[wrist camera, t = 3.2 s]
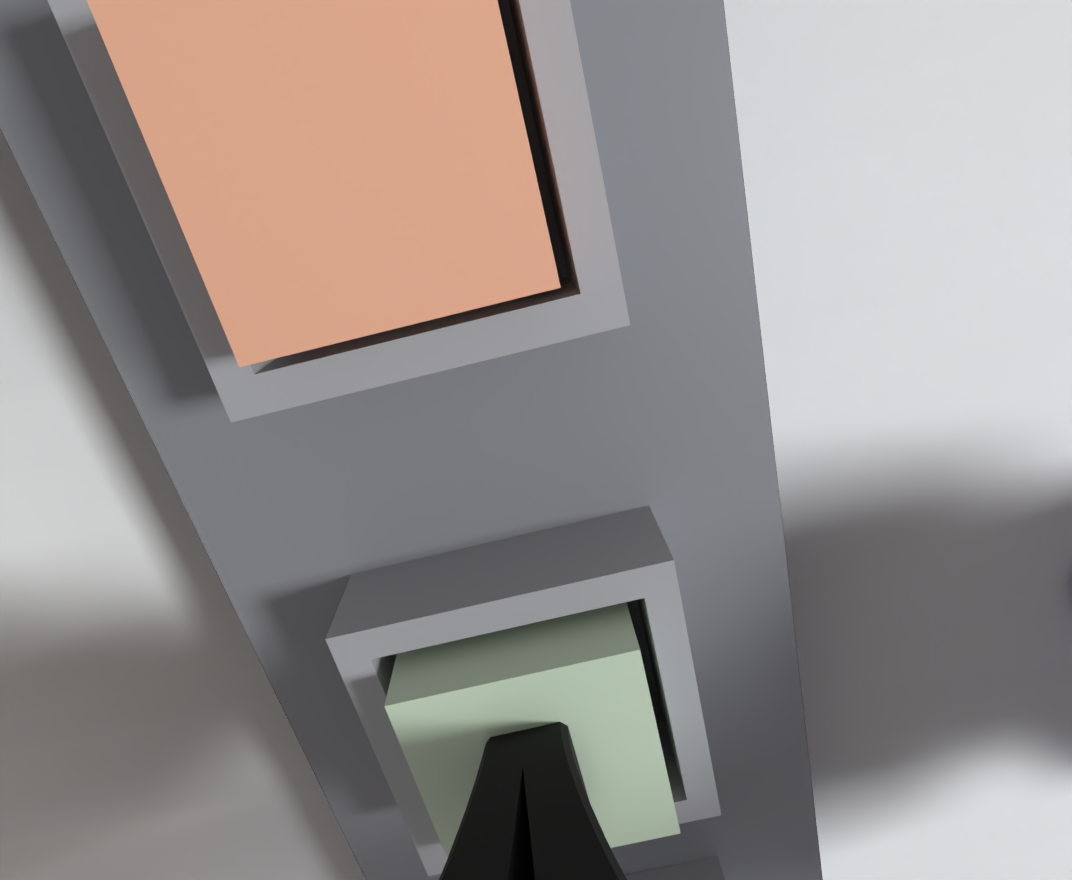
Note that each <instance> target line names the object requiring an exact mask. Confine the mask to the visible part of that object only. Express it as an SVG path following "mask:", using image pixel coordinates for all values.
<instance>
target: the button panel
mask: <svg viewBox="0 0 1072 880" xmlns="http://www.w3.org/2000/svg"><path fill="white" fill-rule="evenodd" d="M498 5H499V9H500V14H501V19H502V23H503V28H504V32H505V37H506V41H507V46H508V50H509V55H510V59H511V64H512V68H513V73H514V78H515V82H516V87H517V91H518V96H519V100H520V105H521V109H522V114H523V118H524V123H525V127H526V132H527V137H528V141H529V146H530V150H531V155H532V159H533V164H534V168H535V173H536V177H537V182H538V186H539V191H540V195H541V200H542V205H543V209H544V214H545V218H546V223H547V227H548V232H549V236H550V241H551V245H552V250H553V254H554V259H555V264H556V268H557V273H558V277H559V282H560V286H561V288H558V289H554V290H550V291H545V292H541V293H537V294H533V295H529V296H525V297H521V298H517V299H513V300H509V301H505V302H501V303H497V304H493V305H489V306H485V307H481V308H477V309H473V310H469V311H465V312H461V313H457V314H453V315H449V316H445V317H441V318H437V319H433V320H428V321H424V322H420V323H416V324H412V325H408V326H404V327H400V328H396V329H392V330H388V331H384V332H380V333H376V334H372V335H368V336H364V337H360V338H356V339H352V340H348V341H344V342H340V343H336V344H332V345H328V346H324V347H320V348H316V349H311V350H307V351H303V352H299V353H295V354H291V355H287V356H283V357H279V358H275V359H271V360H267V361H263V362H259V363H255V364H251V365H247V366H243V367H239V365H238V363H237V361H236V358H235V356H234V353H233V351H232V349H231V346H230V344H229V341H228V339H227V336H226V334H225V332H224V329H223V327H222V324H221V322H220V320H219V317H218V315H217V312H216V310H215V308H214V305H213V303H212V300H211V298H210V296H209V293H208V291H207V288H206V286H205V284H204V281H203V279H202V276H201V274H200V272H199V269H198V267H197V264H196V262H195V260H194V257H193V255H192V252H191V250H190V248H189V245H188V243H187V240H186V238H185V236H184V233H183V231H182V228H181V226H180V224H179V221H178V219H177V216H176V214H175V212H174V209H173V207H172V204H171V202H170V200H169V197H168V195H167V192H166V190H165V188H164V185H163V183H162V180H161V178H160V176H159V173H158V171H157V168H156V166H155V163H154V161H153V159H152V156H151V154H150V151H149V149H148V147H147V144H146V142H145V139H144V137H143V135H142V132H141V130H140V127H139V125H138V123H137V120H136V118H135V115H134V113H133V111H132V108H131V106H130V103H129V101H128V99H127V96H126V94H125V91H124V89H123V87H122V84H121V82H120V79H119V77H118V75H117V72H116V70H115V67H114V65H113V63H112V60H111V58H110V55H109V53H108V51H107V48H106V46H105V43H104V41H103V39H102V36H101V34H100V31H99V29H98V27H97V24H96V22H95V19H94V17H93V15H92V12H91V10H90V7H89V5H88V3H87V0H0V129H1V131H2V133H3V135H4V137H5V139H6V141H7V143H8V145H9V147H10V149H11V151H12V153H13V155H14V158H15V160H16V162H17V164H18V166H19V168H20V170H21V172H22V174H23V176H24V178H25V180H26V182H27V184H28V186H29V188H30V190H31V192H32V194H33V197H34V199H35V201H36V203H37V205H38V207H39V209H40V211H41V213H42V215H43V217H44V219H45V221H46V223H47V225H48V227H49V229H50V231H51V234H52V236H53V238H54V240H55V242H56V244H57V246H58V248H59V250H60V252H61V254H62V256H63V258H64V260H65V262H66V264H67V266H68V268H69V270H70V273H71V275H72V277H73V279H74V281H75V283H76V285H77V287H78V289H79V291H80V293H81V295H82V297H83V299H84V301H85V303H86V305H87V307H88V309H89V312H90V314H91V316H92V318H93V320H94V322H95V324H96V326H97V328H98V330H99V332H100V334H101V336H102V338H103V340H104V342H105V344H106V346H107V348H108V351H109V353H110V355H111V357H112V359H113V361H114V363H115V365H116V367H117V369H118V371H119V373H120V375H121V377H122V379H123V381H124V383H125V385H126V388H127V390H128V392H129V394H130V396H131V398H132V400H133V402H134V404H135V406H136V408H137V410H138V412H139V414H140V416H141V418H142V420H143V422H144V424H145V427H146V429H147V431H148V433H149V435H150V437H151V439H152V441H153V443H154V445H155V447H156V449H157V451H158V453H159V455H160V457H161V459H162V461H163V463H164V466H165V468H166V470H167V472H168V474H169V476H170V478H171V480H172V482H173V484H174V486H175V488H176V490H177V492H178V494H179V496H180V498H181V500H182V503H183V505H184V507H185V509H186V511H187V513H188V515H189V517H190V519H191V521H192V523H193V525H194V527H195V529H196V531H197V533H198V535H199V537H200V539H201V542H202V544H203V546H204V548H205V550H206V552H207V554H208V556H209V558H210V560H211V562H212V564H213V566H214V568H215V570H216V572H217V574H218V576H219V578H220V581H221V583H222V585H223V587H224V589H225V591H226V593H227V595H228V597H229V599H230V601H231V603H232V605H233V607H234V609H235V611H236V613H237V615H238V617H239V620H240V622H241V624H242V626H243V628H244V630H245V632H246V634H247V636H248V638H249V640H250V642H251V644H252V646H253V648H254V650H255V652H256V654H257V657H258V659H259V661H260V663H261V665H262V667H263V669H264V671H265V673H266V675H267V677H268V679H269V681H270V683H271V685H272V687H273V689H274V691H275V693H276V696H277V698H278V700H279V702H280V704H281V706H282V708H283V710H284V712H285V714H286V716H287V718H288V720H289V722H290V724H291V726H292V728H293V730H294V732H295V735H296V737H297V739H298V741H299V743H300V745H301V747H302V749H303V751H304V753H305V755H306V757H307V759H308V761H309V763H310V765H311V767H312V769H313V771H314V774H315V776H316V778H317V780H318V782H319V784H320V786H321V788H322V790H323V792H324V794H325V796H326V798H327V800H328V802H329V804H330V806H331V808H332V811H333V813H334V815H335V817H336V819H337V821H338V823H339V825H340V827H341V829H342V831H343V833H344V835H345V837H346V839H347V841H348V843H349V845H350V847H351V850H352V852H353V854H354V856H355V858H356V860H357V862H358V864H359V866H360V868H361V870H362V872H363V874H364V876H365V878H366V880H439V878H440V876H441V873H442V871H443V869H444V866H445V864H446V861H447V857H446V854H445V852H444V850H443V847H442V845H441V842H440V840H439V837H438V835H437V833H436V830H435V828H434V825H433V823H432V821H431V818H430V816H429V813H428V811H427V808H426V806H425V804H424V801H423V799H422V796H421V794H420V791H419V789H418V787H417V784H416V782H415V779H414V777H413V775H412V772H411V770H410V767H409V765H408V762H407V760H406V758H405V755H404V753H403V750H402V748H401V746H400V743H399V741H398V738H397V736H396V733H395V731H394V729H393V726H392V724H391V721H390V719H389V717H388V714H387V712H386V709H385V707H384V705H385V701H386V697H387V693H388V689H389V684H390V680H391V676H392V672H393V667H394V663H395V659H396V655H397V654H398V653H402V652H406V651H411V650H415V649H420V648H424V647H429V646H433V645H438V644H442V643H446V642H451V641H455V640H460V639H464V638H469V637H473V636H478V635H482V634H486V633H491V632H495V631H500V630H504V629H509V628H513V627H518V626H522V625H526V624H531V623H535V622H540V621H544V620H549V619H553V618H558V617H562V616H566V615H571V614H575V613H580V612H584V611H589V610H593V609H598V608H602V607H606V606H611V605H615V604H620V603H624V602H626V603H627V606H628V610H629V613H630V617H631V620H632V624H633V627H634V630H635V634H636V637H637V641H638V644H639V648H640V652H641V656H642V661H643V665H644V670H645V674H646V679H647V683H648V688H649V692H650V697H651V701H652V706H653V710H654V715H655V719H656V724H657V729H658V733H659V738H660V742H661V747H662V751H663V756H664V760H665V765H666V769H667V774H668V778H669V783H670V787H671V792H672V796H673V801H674V806H675V810H676V815H677V819H678V824H679V828H680V834H675V835H671V836H666V837H661V838H656V839H651V840H647V841H642V842H637V843H632V844H627V845H622V846H618V847H613V848H611V850H612V852H613V854H614V856H615V858H616V860H617V862H618V864H619V865H620V867H621V869H622V871H623V873H624V875H625V877H626V879H627V880H823V879H822V870H821V861H820V853H819V844H818V835H817V826H816V817H815V808H814V799H813V790H812V782H811V773H810V764H809V755H808V746H807V737H806V728H805V720H804V711H803V702H802V693H801V684H800V675H799V666H798V657H797V649H796V640H795V631H794V622H793V613H792V604H791V595H790V587H789V578H788V569H787V560H786V551H785V542H784V533H783V524H782V516H781V507H780V498H779V489H778V480H777V471H776V462H775V454H774V445H773V436H772V427H771V418H770V409H769V400H768V392H767V383H766V374H765V365H764V356H763V347H762V338H761V329H760V321H759V312H758V303H757V294H756V285H755V276H754V267H753V259H752V250H751V241H750V232H749V223H748V214H747V205H746V196H745V188H744V179H743V170H742V161H741V152H740V143H739V134H738V126H737V117H736V108H735V99H734V90H733V81H732V72H731V63H730V55H729V46H728V37H727V28H726V19H725V10H724V1H723V0H498Z"/></svg>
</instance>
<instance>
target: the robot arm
mask: <svg viewBox="0 0 1072 880" xmlns="http://www.w3.org/2000/svg"><path fill="white" fill-rule="evenodd" d="M439 880H627V879H626V877H625V875H624V873H623V871H622V869H621V867H620V865H619V864H618V862H617V860H616V858H615V856H614V854H613V852H612V850H611V848H610V846H609V844H608V842H607V840H606V838H605V835H604V833H603V831H602V829H601V826H600V824H599V822H598V820H597V818H596V815H595V813H594V811H593V809H592V806H591V804H590V802H589V798H588V795H587V791H586V788H585V784H584V781H583V777H582V774H581V770H580V767H579V763H578V760H577V756H576V753H575V749H574V746H573V742H572V739H571V735H570V732H569V728H568V726H567V725H565V724H563V723H561V722H557V723H552V724H548V725H543V726H539V727H534V728H530V729H525V730H520V731H516V732H511V733H507V734H502V735H498V736H493V737H490V738H489V740H488V741H487V742H486V744H485V748H484V752H483V756H482V759H481V763H480V766H479V770H478V773H477V776H476V780H475V783H474V786H473V789H472V792H471V795H470V798H469V801H468V804H467V807H466V810H465V813H464V816H463V818H462V821H461V824H460V826H459V829H458V832H457V834H456V837H455V840H454V842H453V845H452V848H451V851H450V853H449V856H448V859H447V861H446V864H445V866H444V869H443V871H442V873H441V876H440V878H439Z"/></svg>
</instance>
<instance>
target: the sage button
mask: <svg viewBox="0 0 1072 880" xmlns="http://www.w3.org/2000/svg"><path fill="white" fill-rule="evenodd" d="M384 707H385V709H386V712H387V714H388V717H389V719H390V721H391V724H392V726H393V729H394V731H395V733H396V736H397V738H398V741H399V743H400V746H401V748H402V750H403V753H404V755H405V758H406V760H407V762H408V765H409V767H410V770H411V772H412V775H413V777H414V779H415V782H416V784H417V787H418V789H419V791H420V794H421V796H422V799H423V801H424V804H425V806H426V808H427V811H428V813H429V816H430V818H431V821H432V823H433V825H434V828H435V830H436V833H437V835H438V837H439V840H440V842H441V845H442V847H443V850H444V852H445V854H446V857H447V859H448V856H449V853H450V851H451V848H452V845H453V842H454V840H455V837H456V834H457V832H458V829H459V826H460V824H461V821H462V818H463V816H464V813H465V810H466V807H467V804H468V801H469V798H470V795H471V792H472V789H473V786H474V783H475V780H476V776H477V773H478V770H479V766H480V763H481V759H482V756H483V752H484V748H485V744H486V742H487V741H488V740H489V738H490V737H493V736H498V735H502V734H507V733H511V732H516V731H520V730H525V729H530V728H534V727H539V726H543V725H548V724H552V723H557V722H561V723H563V724H565V725H567V726H568V728H569V732H570V735H571V739H572V742H573V746H574V749H575V753H576V756H577V760H578V763H579V767H580V770H581V774H582V777H583V781H584V784H585V788H586V791H587V795H588V798H589V802H590V804H591V806H592V809H593V811H594V813H595V815H596V818H597V820H598V822H599V824H600V826H601V829H602V831H603V833H604V835H605V838H606V840H607V842H608V844H609V846H610V848H613V847H618V846H622V845H627V844H632V843H637V842H642V841H647V840H651V839H656V838H661V837H666V836H671V835H675V834H680V828H679V824H678V819H677V815H676V810H675V806H674V801H673V796H672V792H671V787H670V783H669V778H668V774H667V769H666V765H665V760H664V756H663V751H662V747H661V742H660V738H659V733H658V729H657V724H656V719H655V715H654V710H653V706H652V701H651V697H650V692H649V688H648V683H647V679H646V674H645V670H644V665H643V661H642V656H641V652H640V648H639V644H638V641H637V637H636V634H635V630H634V627H633V624H632V620H631V617H630V613H629V610H628V606H627V603H626V602H624V603H620V604H615V605H611V606H606V607H602V608H598V609H593V610H589V611H584V612H580V613H575V614H571V615H566V616H562V617H558V618H553V619H549V620H544V621H540V622H535V623H531V624H526V625H522V626H518V627H513V628H509V629H504V630H500V631H495V632H491V633H486V634H482V635H478V636H473V637H469V638H464V639H460V640H455V641H451V642H446V643H442V644H438V645H433V646H429V647H424V648H420V649H415V650H411V651H406V652H402V653H398V654H397V655H396V659H395V663H394V667H393V672H392V676H391V680H390V684H389V689H388V693H387V697H386V701H385V705H384Z"/></svg>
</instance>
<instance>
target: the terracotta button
mask: <svg viewBox="0 0 1072 880" xmlns="http://www.w3.org/2000/svg"><path fill="white" fill-rule="evenodd" d="M87 3H88V5H89V7H90V10H91V12H92V15H93V17H94V19H95V22H96V24H97V27H98V29H99V31H100V34H101V36H102V39H103V41H104V43H105V46H106V48H107V51H108V53H109V55H110V58H111V60H112V63H113V65H114V67H115V70H116V72H117V75H118V77H119V79H120V82H121V84H122V87H123V89H124V91H125V94H126V96H127V99H128V101H129V103H130V106H131V108H132V111H133V113H134V115H135V118H136V120H137V123H138V125H139V127H140V130H141V132H142V135H143V137H144V139H145V142H146V144H147V147H148V149H149V151H150V154H151V156H152V159H153V161H154V163H155V166H156V168H157V171H158V173H159V176H160V178H161V180H162V183H163V185H164V188H165V190H166V192H167V195H168V197H169V200H170V202H171V204H172V207H173V209H174V212H175V214H176V216H177V219H178V221H179V224H180V226H181V228H182V231H183V233H184V236H185V238H186V240H187V243H188V245H189V248H190V250H191V252H192V255H193V257H194V260H195V262H196V264H197V267H198V269H199V272H200V274H201V276H202V279H203V281H204V284H205V286H206V288H207V291H208V293H209V296H210V298H211V300H212V303H213V305H214V308H215V310H216V312H217V315H218V317H219V320H220V322H221V324H222V327H223V329H224V332H225V334H226V336H227V339H228V341H229V344H230V346H231V349H232V351H233V353H234V356H235V358H236V361H237V363H238V365H239V367H243V366H247V365H251V364H255V363H259V362H263V361H267V360H271V359H275V358H279V357H283V356H287V355H291V354H295V353H299V352H303V351H307V350H311V349H316V348H320V347H324V346H328V345H332V344H336V343H340V342H344V341H348V340H352V339H356V338H360V337H364V336H368V335H372V334H376V333H380V332H384V331H388V330H392V329H396V328H400V327H404V326H408V325H412V324H416V323H420V322H424V321H428V320H433V319H437V318H441V317H445V316H449V315H453V314H457V313H461V312H465V311H469V310H473V309H477V308H481V307H485V306H489V305H493V304H497V303H501V302H505V301H509V300H513V299H517V298H521V297H525V296H529V295H533V294H537V293H541V292H545V291H550V290H554V289H558V288H561V286H560V282H559V277H558V273H557V268H556V264H555V259H554V254H553V250H552V245H551V241H550V236H549V232H548V227H547V223H546V218H545V214H544V209H543V205H542V200H541V195H540V191H539V186H538V182H537V177H536V173H535V168H534V164H533V159H532V155H531V150H530V146H529V141H528V137H527V132H526V127H525V123H524V118H523V114H522V109H521V105H520V100H519V96H518V91H517V87H516V82H515V78H514V73H513V68H512V64H511V59H510V55H509V50H508V46H507V41H506V37H505V32H504V28H503V23H502V19H501V14H500V9H499V5H498V0H87Z"/></svg>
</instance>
